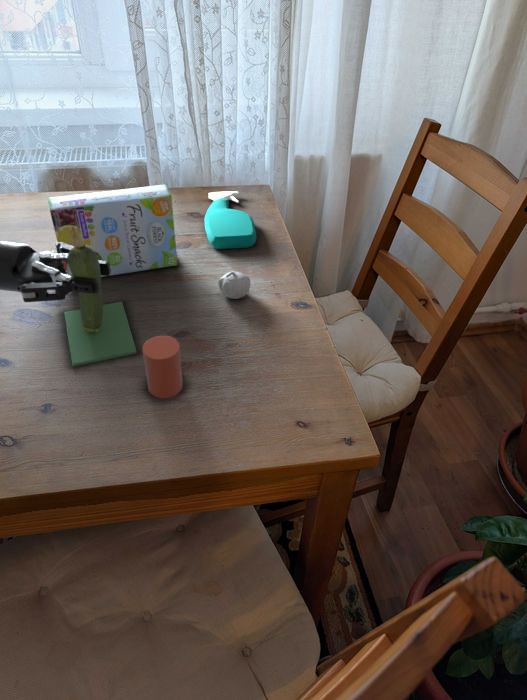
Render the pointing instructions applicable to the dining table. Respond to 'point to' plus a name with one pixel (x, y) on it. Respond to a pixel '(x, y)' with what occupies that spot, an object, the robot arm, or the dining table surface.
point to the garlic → (234, 284)
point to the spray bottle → (228, 223)
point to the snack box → (120, 226)
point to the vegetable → (86, 266)
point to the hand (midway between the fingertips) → (103, 277)
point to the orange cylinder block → (163, 366)
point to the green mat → (99, 336)
